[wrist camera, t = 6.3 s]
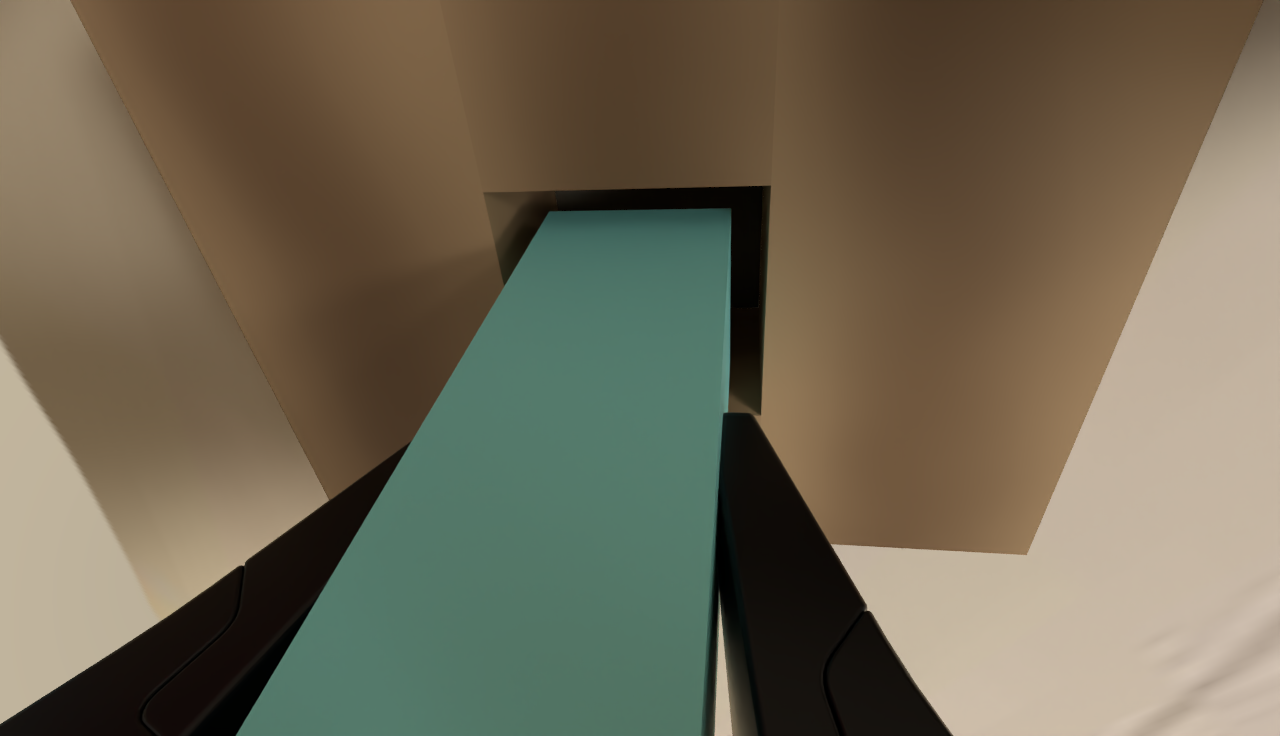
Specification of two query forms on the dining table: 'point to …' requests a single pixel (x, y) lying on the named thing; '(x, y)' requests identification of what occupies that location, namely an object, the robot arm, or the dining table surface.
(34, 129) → the dining table surface
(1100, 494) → the dining table surface
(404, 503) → the teal peg long
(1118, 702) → the dining table surface
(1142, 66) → the walnut slab
